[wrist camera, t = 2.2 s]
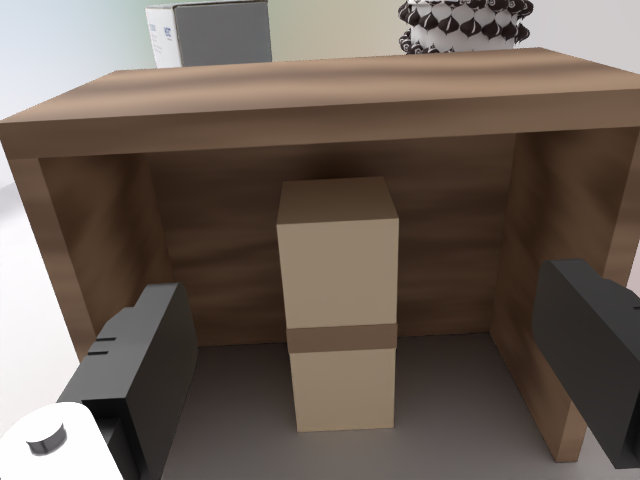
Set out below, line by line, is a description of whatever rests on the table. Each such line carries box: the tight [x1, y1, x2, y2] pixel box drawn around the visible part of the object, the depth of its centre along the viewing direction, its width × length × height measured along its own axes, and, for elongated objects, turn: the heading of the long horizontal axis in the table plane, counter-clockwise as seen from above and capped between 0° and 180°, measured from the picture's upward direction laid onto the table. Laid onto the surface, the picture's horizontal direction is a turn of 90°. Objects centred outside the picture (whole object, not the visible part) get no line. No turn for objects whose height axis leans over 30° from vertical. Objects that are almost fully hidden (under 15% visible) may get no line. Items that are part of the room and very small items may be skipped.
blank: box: [277, 176, 399, 432], centre depth 25 cm, size 5×5×12 cm
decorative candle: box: [398, 0, 533, 55], centre depth 37 cm, size 9×9×25 cm
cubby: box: [0, 47, 640, 462], centre depth 24 cm, size 11×22×17 cm, turn 90°
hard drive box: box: [145, 0, 272, 68], centre depth 47 cm, size 16×8×20 cm, turn 25°
